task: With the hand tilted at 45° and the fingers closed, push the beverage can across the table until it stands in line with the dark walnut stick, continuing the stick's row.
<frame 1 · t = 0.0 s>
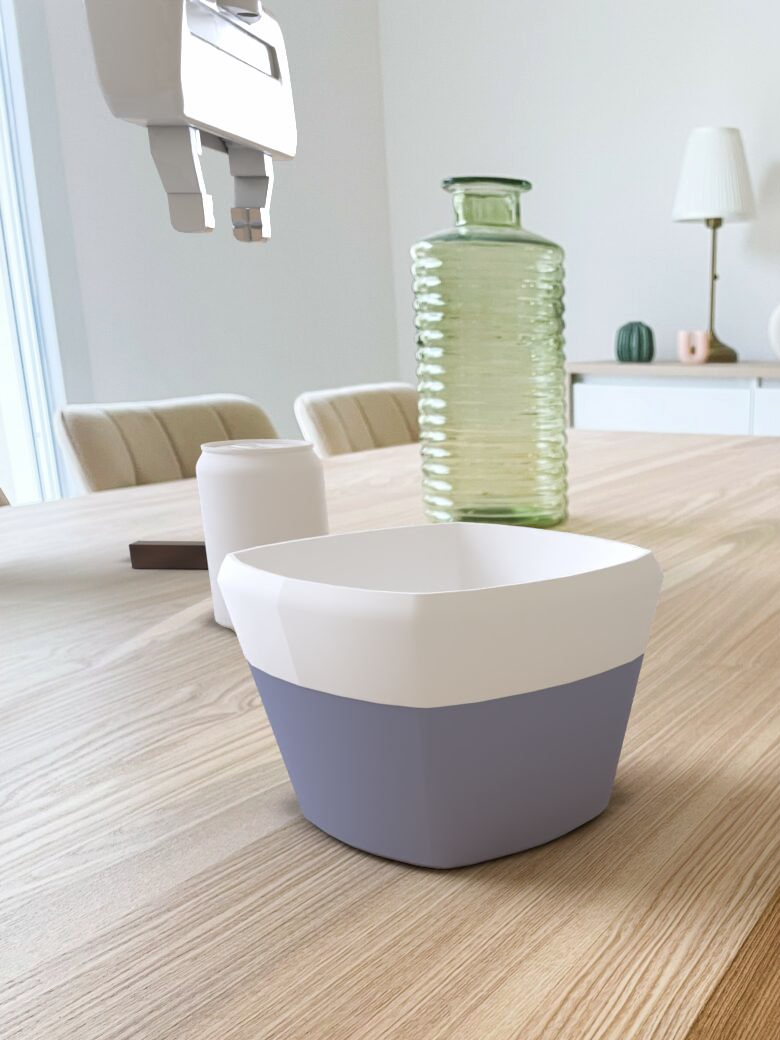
hand: (225, 238, 72), 24 cm above the table, tool pointing down, fingers open, 8 cm apart
bowl: (457, 818, 56), on the table
beverage can: (277, 628, 90), on the table
walnut stick: (205, 567, 110), on the table
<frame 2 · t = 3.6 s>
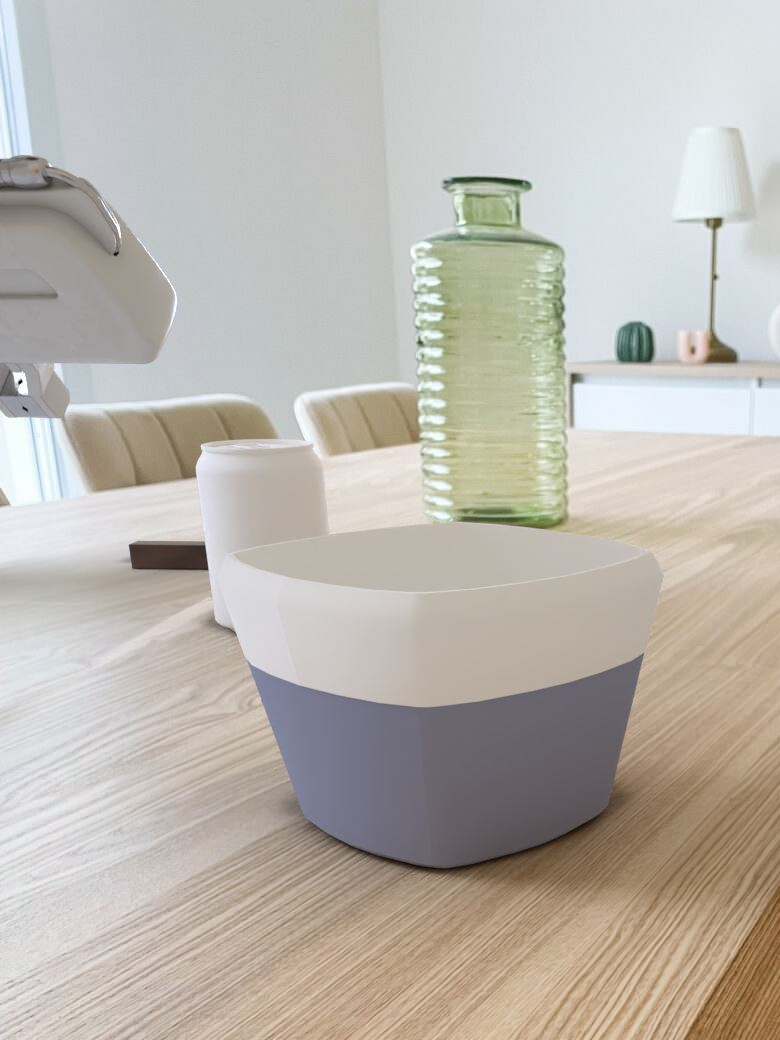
hand: (41, 408, 64), 16 cm above the table, tool tilted 45°, fingers closed
nothing on the table moved.
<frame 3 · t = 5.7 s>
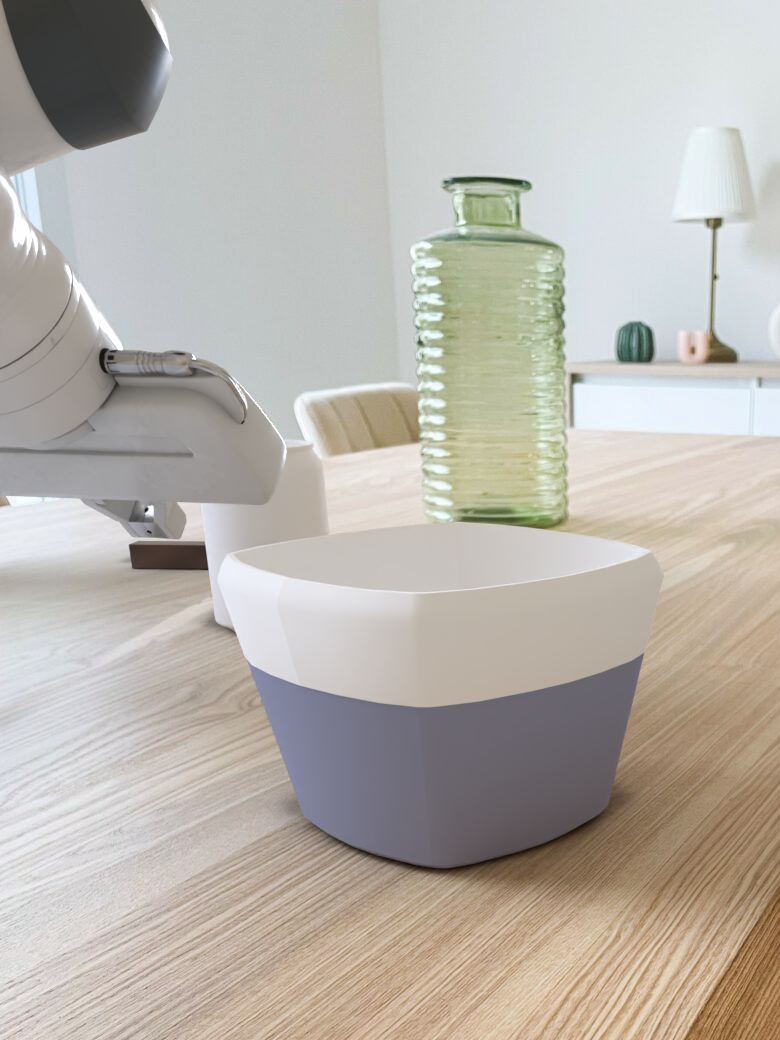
hand: (161, 529, 75), 8 cm above the table, tool tilted 45°, fingers closed
nothing on the table moved.
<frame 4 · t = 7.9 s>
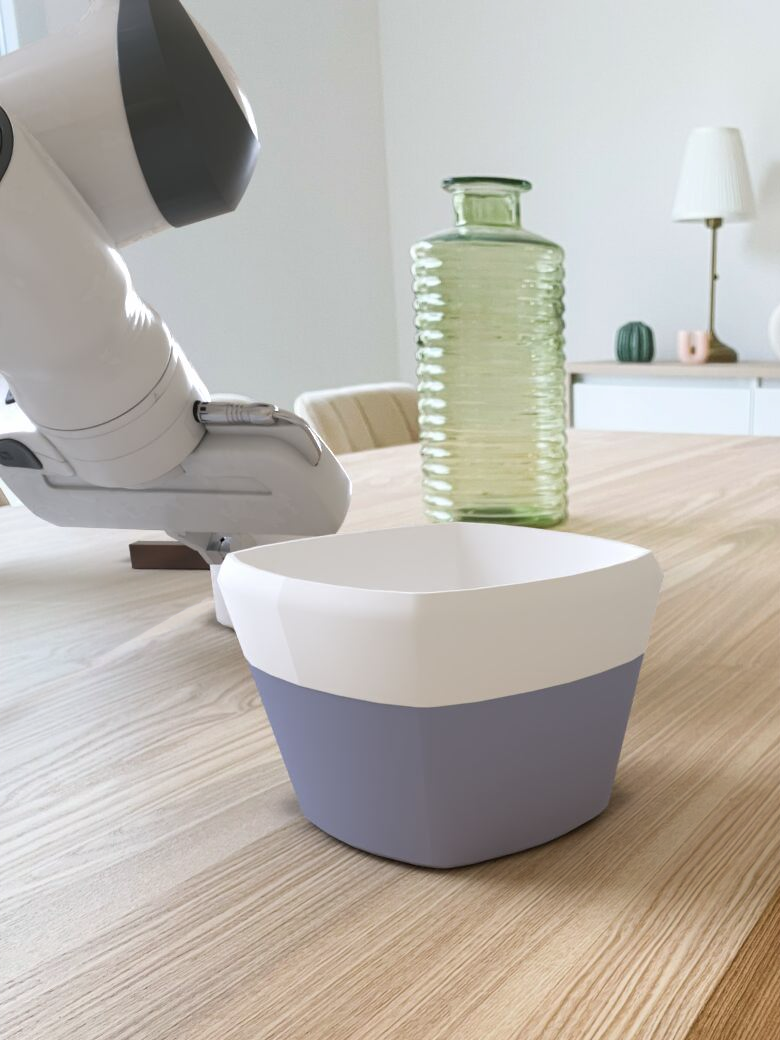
hand: (234, 556, 84), 5 cm above the table, tool tilted 45°, fingers closed, pressing on beverage can
beverage can: (279, 627, 90), on the table, touching gripper
everything else where it was.
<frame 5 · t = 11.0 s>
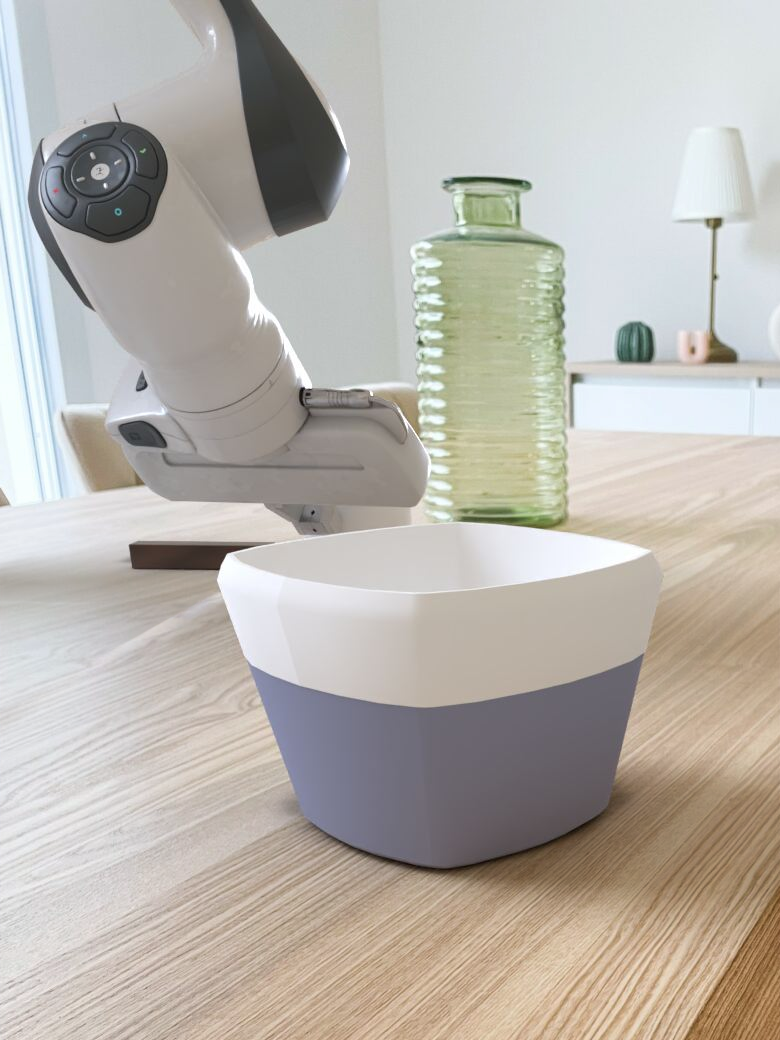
hand: (322, 528, 94), 6 cm above the table, tool tilted 45°, fingers closed, pressing on beverage can
beverage can: (363, 594, 101), on the table, touching gripper
everything else where it was.
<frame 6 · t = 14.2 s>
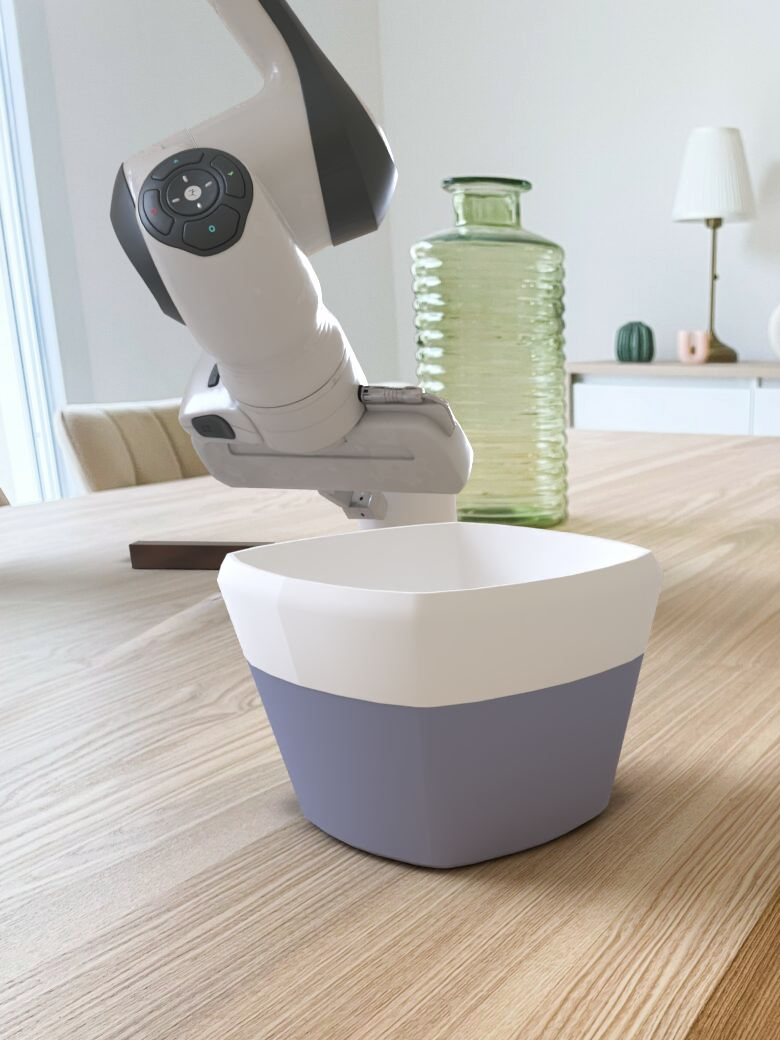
hand: (369, 512, 103), 5 cm above the table, tool tilted 45°, fingers closed
beverage can: (411, 573, 109), on the table
everything else where it was.
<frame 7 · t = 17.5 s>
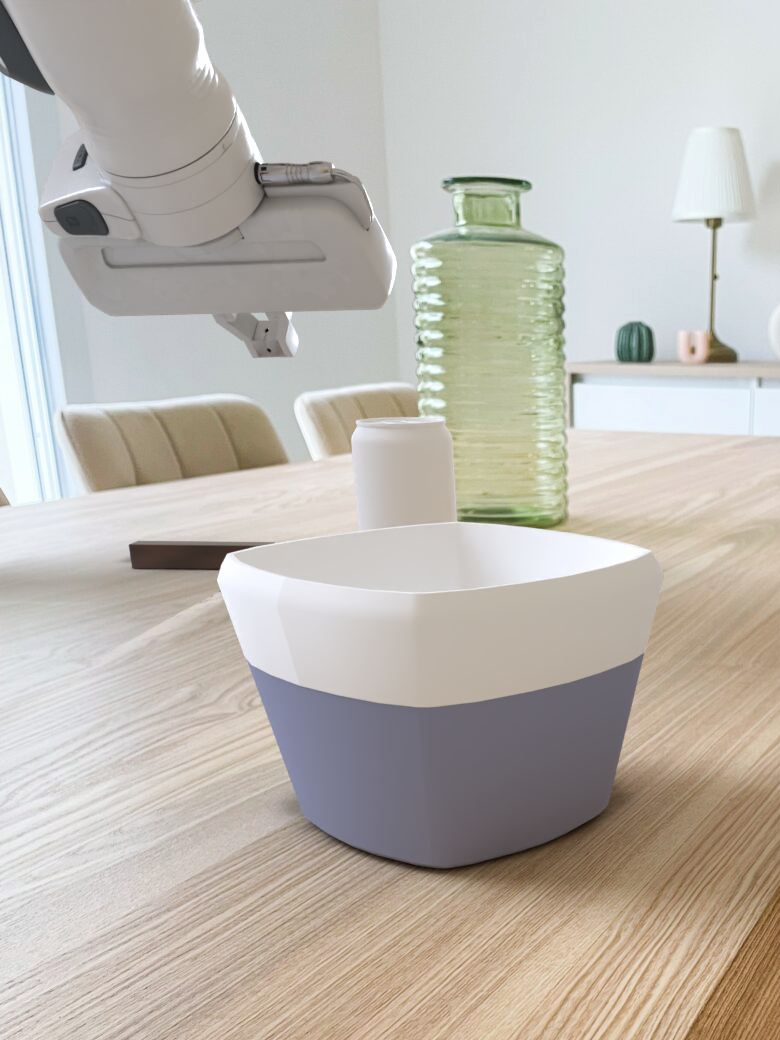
hand: (277, 350, 88), 18 cm above the table, tool tilted 45°, fingers closed
nothing on the table moved.
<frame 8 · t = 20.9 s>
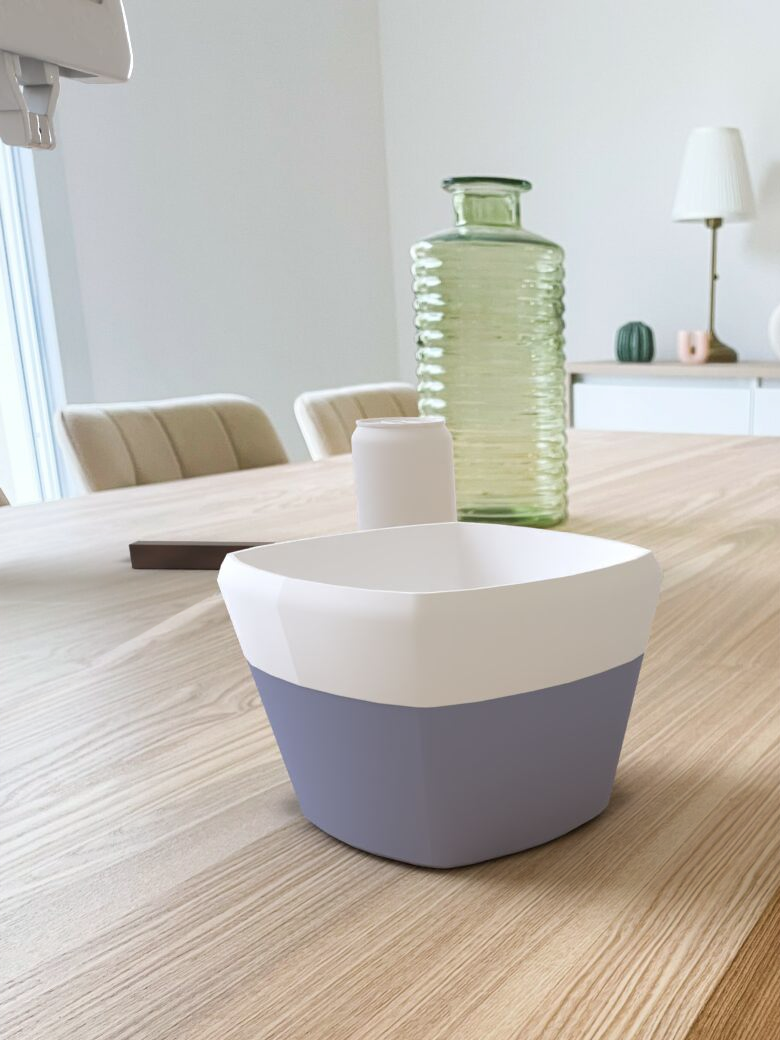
hand: (30, 147, 79), 29 cm above the table, tool pointing down, fingers closed
nothing on the table moved.
at the end: beverage can inside the target area (1.1 cm from its centre), on the table; beverage can tilted 0°; walnut stick moved 0.0 cm from its start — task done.
